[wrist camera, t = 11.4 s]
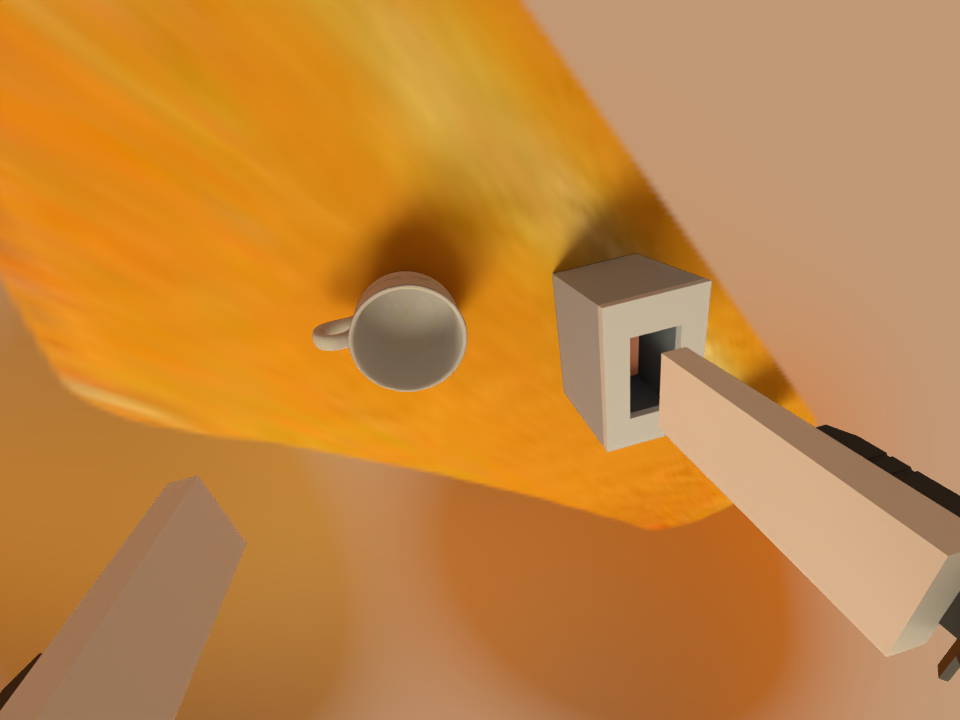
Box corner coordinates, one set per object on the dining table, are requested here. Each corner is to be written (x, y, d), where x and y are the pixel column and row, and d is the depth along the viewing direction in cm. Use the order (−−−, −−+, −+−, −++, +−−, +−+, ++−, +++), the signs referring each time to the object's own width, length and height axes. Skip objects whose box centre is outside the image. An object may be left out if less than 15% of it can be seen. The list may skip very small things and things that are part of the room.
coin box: (552, 273, 43) (601, 308, 32) (636, 253, 44) (711, 280, 33) (564, 392, 50) (607, 452, 40) (635, 373, 51) (696, 426, 41)
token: (586, 311, 45) (611, 331, 40) (611, 306, 45) (639, 324, 40) (588, 356, 48) (612, 380, 42) (611, 351, 48) (637, 373, 43)
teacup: (466, 274, 41) (479, 296, 34) (446, 364, 46) (455, 400, 38) (327, 248, 38) (311, 266, 31) (321, 348, 42) (305, 385, 35)
